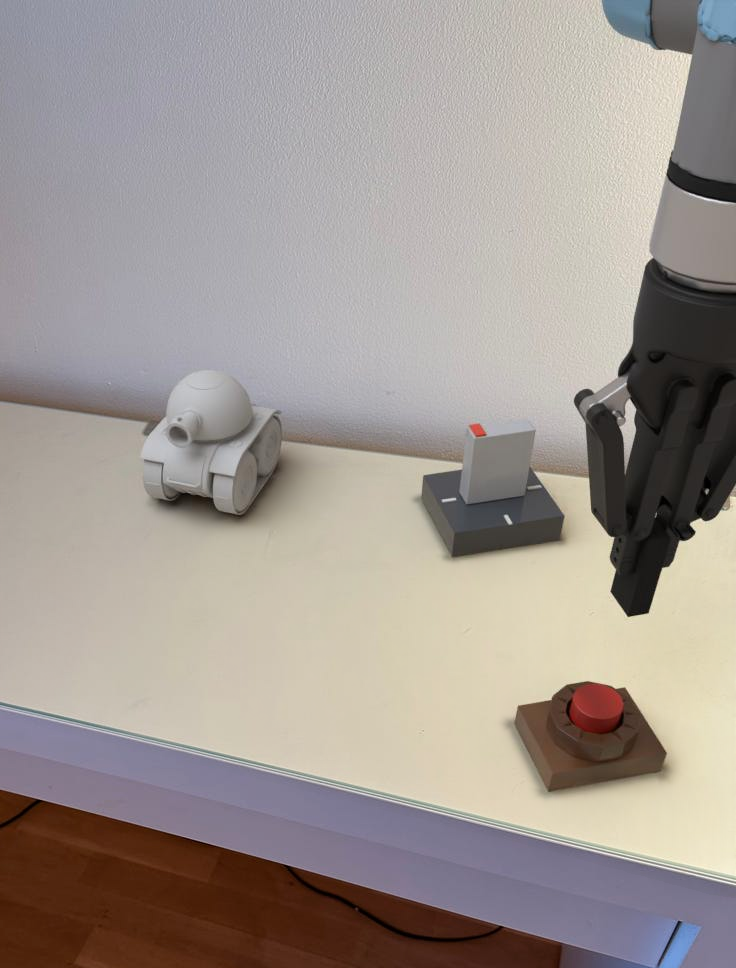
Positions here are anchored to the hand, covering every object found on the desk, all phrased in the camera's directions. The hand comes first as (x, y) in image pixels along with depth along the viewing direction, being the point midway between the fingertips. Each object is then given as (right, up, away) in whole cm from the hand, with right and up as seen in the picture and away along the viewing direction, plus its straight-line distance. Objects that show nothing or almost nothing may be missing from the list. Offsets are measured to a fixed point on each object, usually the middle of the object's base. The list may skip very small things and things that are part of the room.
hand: (629, 602), depth 66 cm
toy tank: (-30, +14, +38) cm, 51 cm away
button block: (0, -11, +9) cm, 14 cm away
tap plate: (-2, +10, +31) cm, 33 cm away
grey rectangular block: (-2, +12, +29) cm, 31 cm away
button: (0, -8, +7) cm, 11 cm away
